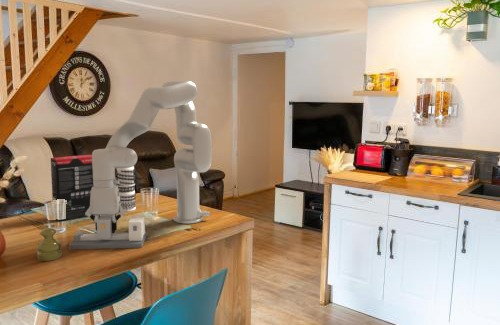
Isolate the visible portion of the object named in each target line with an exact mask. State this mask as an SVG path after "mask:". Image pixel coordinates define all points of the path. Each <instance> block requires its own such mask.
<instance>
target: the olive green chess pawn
mask: <svg viewBox="0 0 500 325" xmlns="http://www.w3.org/2000/svg"><path fill="white" fill-rule="evenodd" d="M56 233H57V230H56V229H54V228H51V227H45V228H44V229H42V230H41V231H39V235H40V236H42V237H43V239H42V241H40V243H38V244H37V245H36V250H37V252H36V254H37V260H38V261H40V262H52V261H55V260H58V259H60V258H61V257H62V256H63V255H62V254H63V253H62V252H63V251H62V243H61V242H60V241H59V240H57V239H55V238H54V236H55V234H56Z"/></svg>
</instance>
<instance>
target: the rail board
mask: <svg viewBox="0 0 500 325" xmlns="http://www.w3.org/2000/svg"><path fill="white" fill-rule="evenodd" d="M147 236H148V232H147V231H146V220H145V215H132V216H131V218H130V219H129V221H128V232H127V231H125V232H122V231H121V232H115V233H112V234H111V239H97V232H86V233H84V230H78V231H76V232H75V233H74V234H73V240H72V241H71V242H70V243H69V244H68V249H69V250H96V249H101V250H102V249H104V250H105V249H128V248H129V249H136V248H141V249H142V248H143V245H144V243H145V242H146V239H147Z"/></svg>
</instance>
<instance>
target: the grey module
mask: <svg viewBox="0 0 500 325" xmlns="http://www.w3.org/2000/svg"><path fill="white" fill-rule="evenodd" d="M111 223H112V217H111V215H100V217H99V218H98V219H97V231H96V233H97V239H111V234H112V224H111ZM114 233H116V231H115V232H114Z"/></svg>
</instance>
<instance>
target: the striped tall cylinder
mask: <svg viewBox="0 0 500 325" xmlns="http://www.w3.org/2000/svg"><path fill="white" fill-rule="evenodd" d="M134 173H136V168H135V165H134V166H132V167H130V168H116V170H115V178H116V180H119V184H116V185H115V186H118V189H119V195H120V203H121V206H122V207H123V209H124V210H125V211H126V212H131V211H135V210H136V209H137V207H136V206H137V204H136V203H137V200H136V191H135V185H136V182H135V180H136V175H135V174H134Z"/></svg>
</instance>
